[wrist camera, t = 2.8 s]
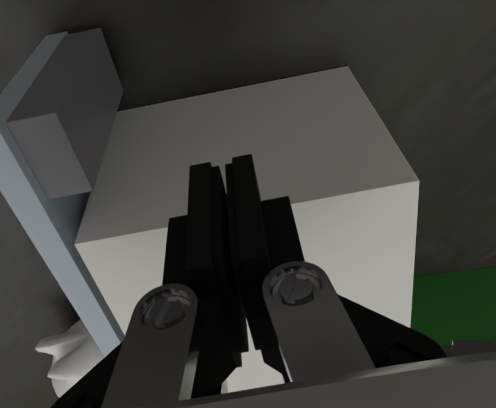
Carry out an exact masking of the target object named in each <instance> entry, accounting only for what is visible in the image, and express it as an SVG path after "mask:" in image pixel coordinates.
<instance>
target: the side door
mask: <svg viewBox="0 0 496 408" xmlns="http://www.w3.org/2000/svg"><path fill="white" fill-rule="evenodd" d="M122 94H123V88H122V85H121V83H120V80H119V77H118V74H117V72H116V69H115V66H114V63H113V61H112V58H111V55H110V53H109V50H108V47H107V44H106V42H105V39H104V36H103V33H102V31H101V28H96V29H91V30H87V31H82V32H77V33H72V34H68V31H66V32H61V33H57V34H52V35H47V36H45V37H44V39H43V40H42V41H41V43H40V44H39V45H38V46H37V48H36V49H35V50H34V52H33V53H32V54H31V55H30V57H29V58H28V59H27V61H26V62H25V63H24V64H23V66H22V67H21V68H20V70H19V71H18V72H17V73H16V75H15V76H14V77H13V79H12V80H11V81H10V83H9V84H8V85H7V86H6V88H5V89H4V90H3V92H2V93H1V94H0V191H1V193H2V194H3V196H4V197H5V199H6V201H7V202H8V204H9V205H10V207H11V209H12V210H13V212H14V213H15V215H16V216H17V218H18V220H19V221H20V223H21V224H22V226H23V228H24V229H25V231H26V232H27V234H28V236H29V237H30V239H31V240H32V242H33V244H34V245H35V247H36V248H37V250H38V252H39V253H40V255H41V256H42V258H43V259H44V261H45V263H46V264H47V266H48V267H49V269H50V271H51V272H52V274H53V275H54V277H55V279H56V280H57V282H58V283H59V285H60V287H61V288H62V290H63V291H64V293H65V295H66V296H67V298H68V299H69V301H70V303H71V304H72V306H73V307H74V309H75V310H76V312H77V314H78V315H79V317H80V318H81V320H82V322H83V323H84V325H85V326H86V328H87V330H88V331H89V333H90V334H91V336H92V338H93V339H94V341H95V342H96V344H97V346H98V347H99V349H100V350H101V352H102V353H103V355H104V357H106V356H107V355H108V354H109V353H110V352H111V351H112V350H113V349H115V348H116V347H117V346H118V345H119V344H120V343H121V342H122V341H123V340H124V337H125V335H124V333H123V331H122V330H121V328H120V326H119V324H118V322H117V321H116V319H115V317H114V315H113V313H112V312H111V310H110V308H109V306H108V304H107V303H106V301H105V299H104V297H103V295H102V294H101V292H100V290H99V288H98V286H97V285H96V283H95V281H94V279H93V277H92V275H91V274H90V272H89V270H88V268H87V266H86V265H85V263H84V261H83V259H82V257H81V256H80V254H79V252H78V250H77V248H76V247H75V245H74V244H75V240H76V237H77V234H78V231H79V227H80V224H81V221H82V214H83V211H84V208H85V204H86V201H87V198H88V195H89V192H90V191H93V189H94V186H95V182H96V179H97V176H98V173H99V169H100V166H101V163H102V160H103V156H104V153H105V150H106V147H107V143H108V140H109V137H110V133H111V130H112V127H113V124H114V120H115V117H116V114H117V111H118V107H119V104H120V101H121V98H122Z"/></svg>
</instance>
